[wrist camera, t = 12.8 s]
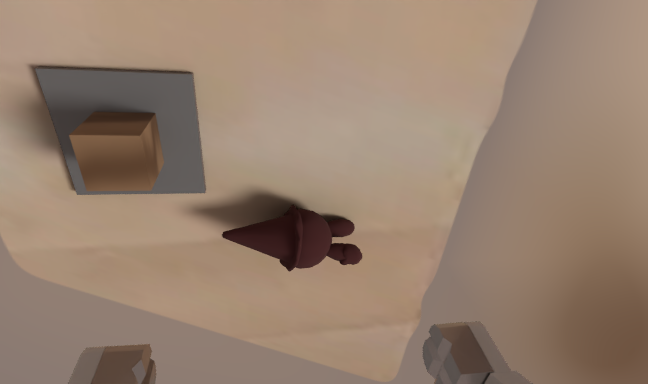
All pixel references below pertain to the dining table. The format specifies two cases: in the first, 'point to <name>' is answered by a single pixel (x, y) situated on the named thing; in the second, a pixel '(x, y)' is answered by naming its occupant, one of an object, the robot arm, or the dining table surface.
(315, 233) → the icecream
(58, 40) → the dining table surface
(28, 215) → the dining table surface
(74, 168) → the coaster
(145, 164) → the cube
